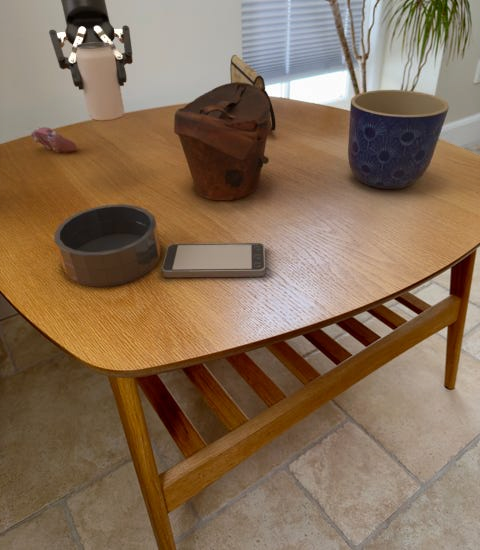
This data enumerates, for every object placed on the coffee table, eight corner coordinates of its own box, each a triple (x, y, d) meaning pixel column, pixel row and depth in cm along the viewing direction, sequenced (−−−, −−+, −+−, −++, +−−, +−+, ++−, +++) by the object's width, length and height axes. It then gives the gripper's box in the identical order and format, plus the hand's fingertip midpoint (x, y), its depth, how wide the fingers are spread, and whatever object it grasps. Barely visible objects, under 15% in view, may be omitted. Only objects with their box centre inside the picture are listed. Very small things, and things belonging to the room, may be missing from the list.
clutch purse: (282, 140, 108) (284, 75, 98) (255, 143, 106) (254, 77, 97) (252, 107, 131) (252, 52, 122) (230, 109, 130) (227, 53, 121)
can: (102, 124, 77) (86, 49, 70) (82, 117, 81) (66, 45, 74) (131, 115, 81) (120, 43, 74) (111, 109, 85) (98, 40, 77)
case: (183, 216, 78) (172, 114, 67) (178, 171, 93) (168, 83, 83) (281, 206, 80) (284, 106, 69) (260, 164, 95) (260, 77, 85)
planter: (356, 158, 97) (366, 85, 88) (436, 172, 90) (456, 95, 81) (329, 187, 85) (337, 108, 76) (418, 206, 78) (439, 121, 69)
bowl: (50, 288, 62) (38, 256, 58) (80, 234, 73) (72, 205, 70) (152, 285, 62) (146, 253, 58) (166, 232, 73) (162, 203, 70)
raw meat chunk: (42, 153, 108) (23, 132, 102) (54, 140, 110) (36, 118, 104) (68, 161, 104) (49, 139, 98) (79, 147, 105) (61, 125, 99)
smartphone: (265, 270, 62) (161, 271, 62) (265, 276, 62) (162, 277, 63) (264, 242, 68) (168, 243, 68) (263, 248, 68) (169, 249, 69)
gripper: (36, -15, 73) (54, 76, 71) (122, -18, 76) (142, 68, 74) (45, 18, 80) (62, 101, 78) (124, 14, 84) (142, 93, 82)
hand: (101, 85), depth 76 cm, fingers closed on can, 6 cm apart
